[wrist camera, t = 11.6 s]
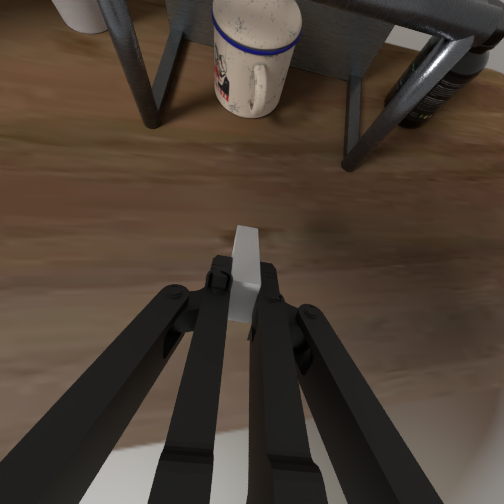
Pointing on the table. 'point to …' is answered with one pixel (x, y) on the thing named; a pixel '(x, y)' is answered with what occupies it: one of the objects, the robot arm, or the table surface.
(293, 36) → the teacup with lid
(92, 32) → the coffee cup
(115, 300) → the table surface
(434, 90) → the supplement bottle
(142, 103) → the box
